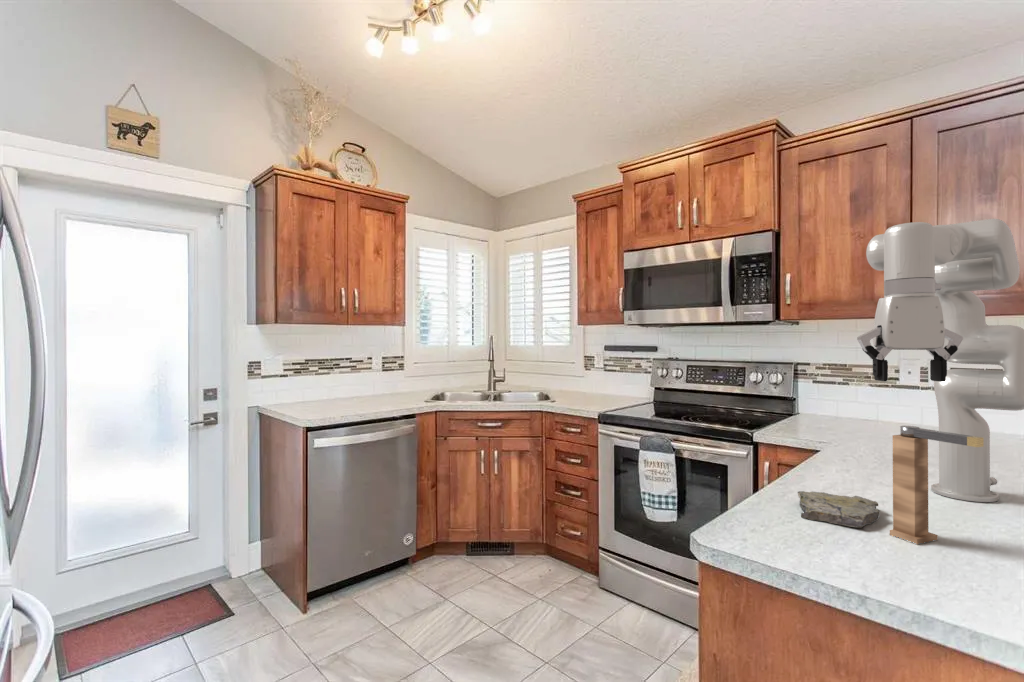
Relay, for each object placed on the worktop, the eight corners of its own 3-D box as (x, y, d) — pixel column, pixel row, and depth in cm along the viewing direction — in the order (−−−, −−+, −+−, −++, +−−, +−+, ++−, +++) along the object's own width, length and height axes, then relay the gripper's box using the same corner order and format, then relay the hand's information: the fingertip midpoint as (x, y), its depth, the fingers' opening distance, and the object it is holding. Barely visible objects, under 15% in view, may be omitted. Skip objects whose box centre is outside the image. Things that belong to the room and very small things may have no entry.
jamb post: (909, 531, 102) (909, 433, 102) (937, 540, 98) (937, 438, 98) (889, 535, 100) (889, 435, 100) (917, 544, 96) (916, 440, 96)
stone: (881, 536, 101) (881, 518, 101) (794, 520, 109) (794, 504, 109) (876, 511, 116) (876, 496, 116) (800, 499, 124) (800, 485, 124)
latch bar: (896, 435, 100) (896, 426, 100) (906, 434, 101) (906, 425, 101) (975, 448, 88) (975, 437, 88) (985, 446, 89) (985, 436, 89)
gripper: (946, 291, 96) (946, 379, 96) (848, 292, 99) (848, 379, 99) (976, 287, 89) (976, 383, 89) (869, 288, 92) (869, 382, 92)
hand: (909, 380), depth 94 cm, fingers open, 9 cm apart
